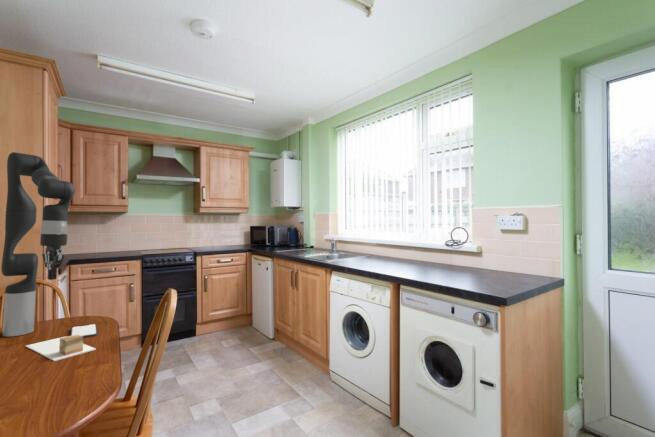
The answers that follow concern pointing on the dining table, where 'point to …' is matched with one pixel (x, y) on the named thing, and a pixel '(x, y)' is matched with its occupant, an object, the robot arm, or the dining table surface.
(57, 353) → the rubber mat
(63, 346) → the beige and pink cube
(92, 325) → the phone case
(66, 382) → the dining table surface
